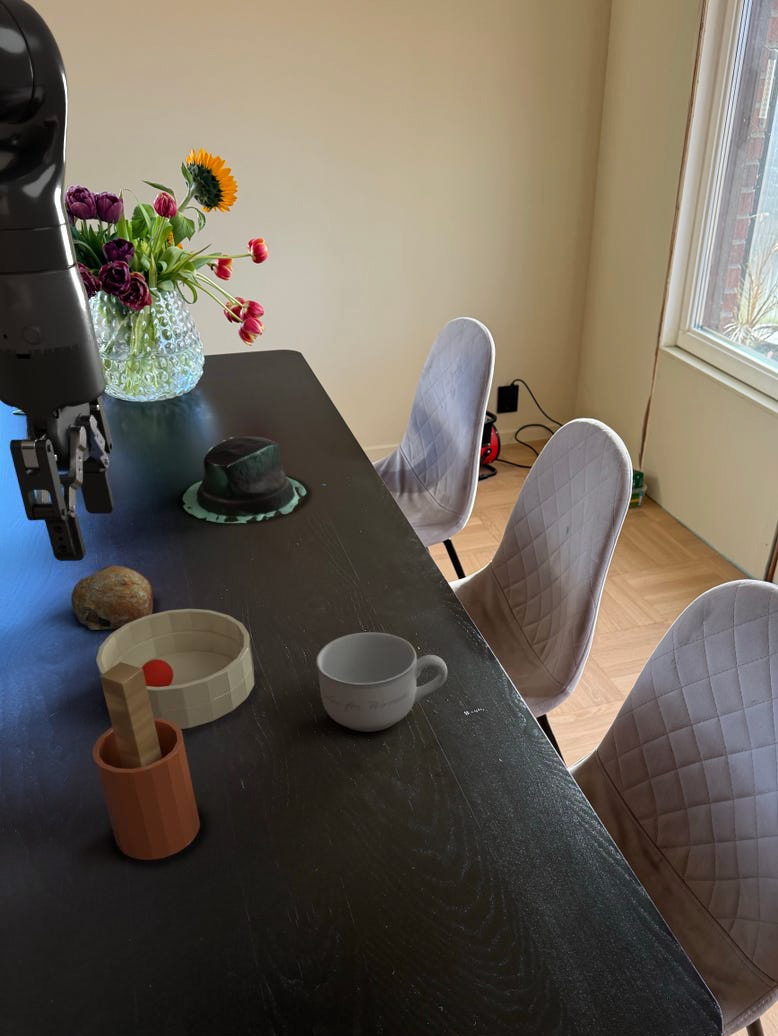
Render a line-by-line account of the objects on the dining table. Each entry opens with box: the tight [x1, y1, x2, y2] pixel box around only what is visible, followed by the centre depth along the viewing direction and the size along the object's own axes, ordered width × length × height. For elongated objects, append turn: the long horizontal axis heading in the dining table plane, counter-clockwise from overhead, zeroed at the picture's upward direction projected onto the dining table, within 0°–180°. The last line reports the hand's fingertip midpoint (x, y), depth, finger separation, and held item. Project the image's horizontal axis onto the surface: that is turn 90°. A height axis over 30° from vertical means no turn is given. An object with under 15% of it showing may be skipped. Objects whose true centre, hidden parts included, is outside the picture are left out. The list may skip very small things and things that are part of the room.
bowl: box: [95, 608, 255, 730], centre depth 100 cm, size 16×16×6 cm
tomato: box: [142, 659, 173, 687], centre depth 100 cm, size 4×4×4 cm
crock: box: [92, 718, 201, 861], centre depth 80 cm, size 7×7×11 cm
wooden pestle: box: [99, 662, 162, 769], centre depth 78 cm, size 5×5×18 cm
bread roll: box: [70, 565, 154, 631], centre depth 114 cm, size 10×10×8 cm
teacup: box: [315, 631, 448, 733], centre depth 97 cm, size 14×11×8 cm
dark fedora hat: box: [182, 436, 307, 524], centre depth 146 cm, size 15×19×20 cm
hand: (87, 534), depth 72 cm, fingers open, 8 cm apart
